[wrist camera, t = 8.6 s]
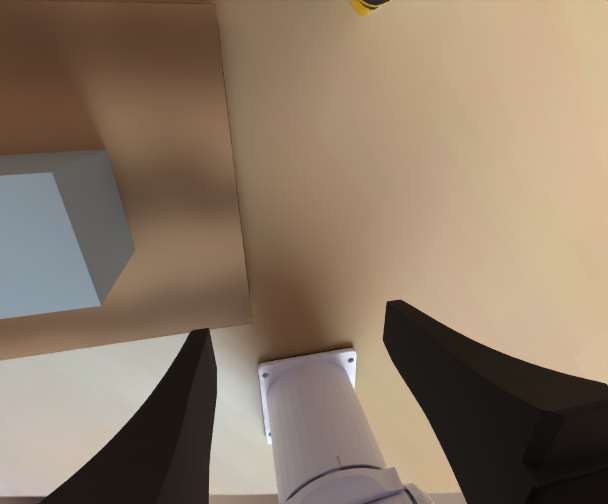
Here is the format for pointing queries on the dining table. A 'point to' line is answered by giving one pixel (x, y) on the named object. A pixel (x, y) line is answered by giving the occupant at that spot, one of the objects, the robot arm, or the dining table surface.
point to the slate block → (59, 232)
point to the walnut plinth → (132, 159)
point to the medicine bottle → (367, 6)
